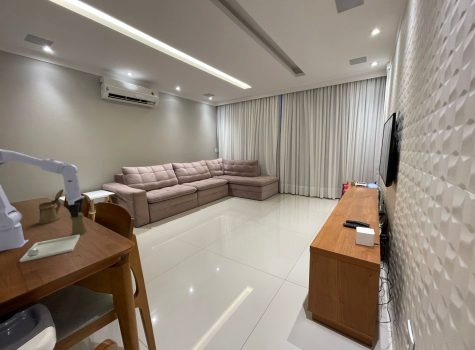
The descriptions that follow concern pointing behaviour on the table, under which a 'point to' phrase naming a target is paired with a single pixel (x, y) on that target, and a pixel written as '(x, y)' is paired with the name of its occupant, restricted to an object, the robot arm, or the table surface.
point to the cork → (78, 225)
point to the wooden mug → (50, 209)
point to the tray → (52, 247)
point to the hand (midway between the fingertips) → (76, 215)
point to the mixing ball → (32, 252)
